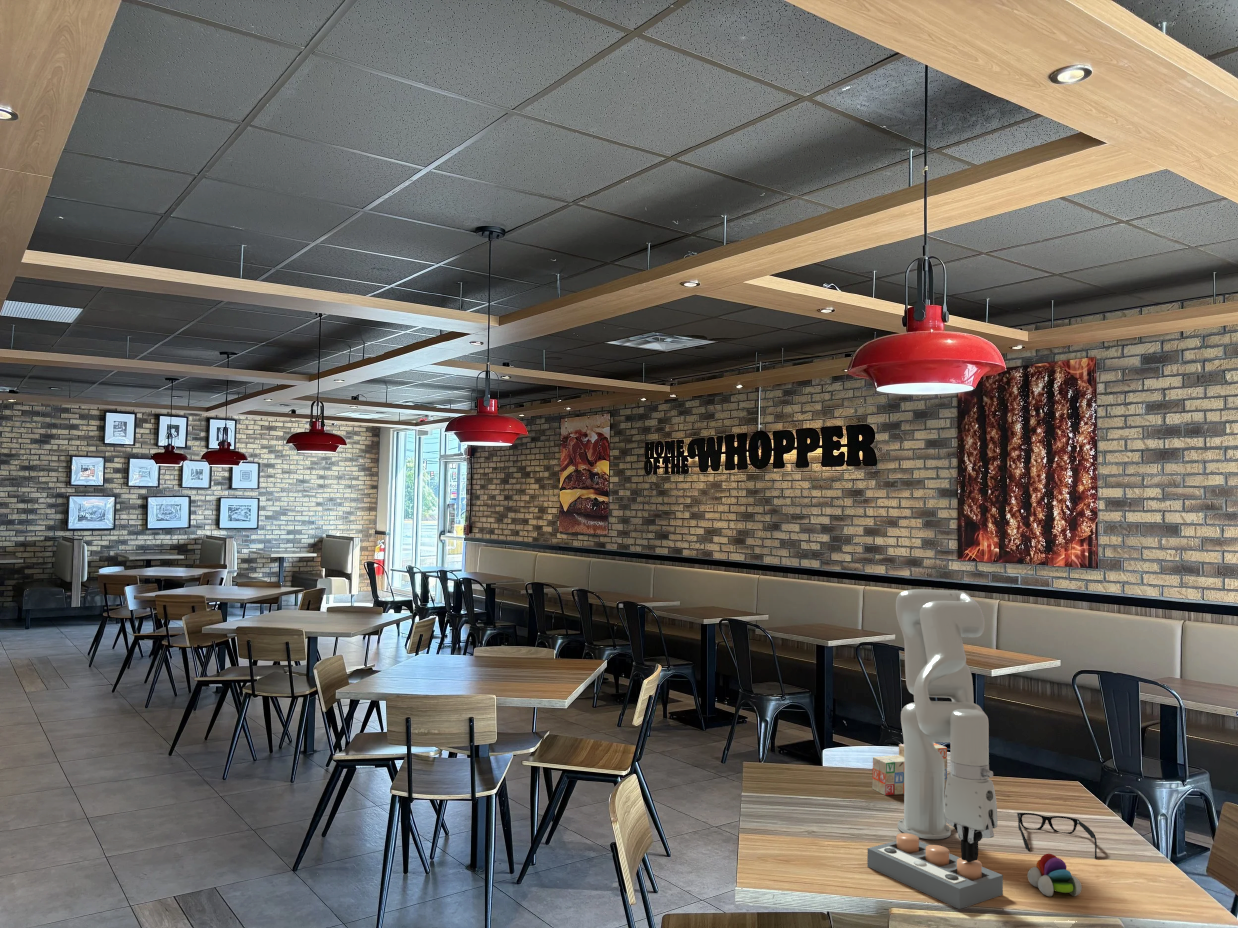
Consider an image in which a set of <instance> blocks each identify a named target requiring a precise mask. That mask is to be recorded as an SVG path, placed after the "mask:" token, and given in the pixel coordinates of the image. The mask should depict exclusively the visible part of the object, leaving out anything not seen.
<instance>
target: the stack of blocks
mask: <svg viewBox="0 0 1238 928" xmlns="http://www.w3.org/2000/svg"><path fill="white" fill-rule="evenodd" d="M934 747H935V748H936V749H937V750H938V751H939V753H940V754H941V755H942V757H943V760H944V791H945V789H946V782H947V777H948V748H947V747H946V746H945V745H941V744H938V743H937V742H936V743H934ZM871 771H872V772H871V773H872V774H871V775H872V790H874V791H875V792H877V793H880V794H882V795H884V796H889V795H890V796H892V795H904V743H903V744H902V743H901V744H898V754H897V755H896V754H894V755H882V756H880V755H879V756H872V770H871Z"/></svg>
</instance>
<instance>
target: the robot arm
mask: <svg viewBox="0 0 1238 928" xmlns="http://www.w3.org/2000/svg"><path fill="white" fill-rule="evenodd" d="M895 613H896V614H895V615H896V618H897V621H898V622H897V623H898V626H899V628H900V630H901V632H902V637H903V642H904V671H905V674H904V675H905V683H906V688H907V690H908V692H909V693H910V694H912V695H913V701H914V702H910V703H908V704H906V705H904V706H903V708H901V711H900V723H901V729H902V737H903V739H902V740H903V744H904V794H903V800H904V801H903V803H904V805H903V810H904V812H903V818H902V819H900V820H898V821H897V828H898V830H900V831H901V833H908V834H913V835H916V836H917V837H919V839H925V840H944V839H947V838H949V837H950V836H951V835H952V829H951V827H953V828H954V830H955V831H956V833H957V837H958V839H959V840H960V852H961V853H960V854H961V857H960V858H962V860H966V861H967V862H972V861H975V860H978V858H979V842H981V841H982V839H993V838H994V837H995V834H994V829H996V828H998V805H997V804H998V803H997V796H996V791H995V786H994V782H993V780H991V779H990V778H993V776H994V771H992V770H990V764H989V763H990V759H989V758H990V757H989V755H990V754H989V752H990V751H989V749H990V748H989V745H990V744H989V743H990V741H989V740H990V739H989V735H990V734H989V733H990V732H989V728H990V726H989V718H988V715H987V714H986V713H985V711H984V710H983V709H982V707H981V706H980V705H979V704H976V703H974V685H973V684H974V683H973V675H972V672H971V669H970V667H969V666H968V664H967V655H966V652H965V647H964V642H963V638H978V637H981V635H983V633H984V632H985V625H986V622H985V621H986V620H985V616H984V613H983V610H982V608H981V606H980V605H979V603H978V602H977V601H976V599H974V598H972V597H971V596H970V595H969V594H968V593H966V592H965V591H961V590H947V589H926V588H925V589H921V588H920V589H918V588H916V589H907V590H903V591H901V592H900V593H899V594H898V595H897V596H896V599H895ZM930 698H944V699H945V698H946V699H947V698H949V699H951V701H943V700H931V699H930ZM934 743H936V744H937V743H950V747H949V748H950V759H949V760H950V762H949V765H950V766H949V767H950V768H949V769H950V772H947V782H946V789H945V790H944V760H943V757H942V755H941V754H940V753H939V751H938V750H937V749H936V748H935V747H934ZM947 824H948V825H947ZM949 825H950V826H951V827H950V826H949Z"/></svg>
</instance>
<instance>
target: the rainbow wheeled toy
mask: <svg viewBox="0 0 1238 928" xmlns="http://www.w3.org/2000/svg"><path fill="white" fill-rule="evenodd" d="M1027 880H1028V882H1029V883H1030V885H1032V886H1033V887H1035V888H1038V889H1039V892H1041V893H1042V895H1044V896H1047V897H1052V896H1053V895H1054V891H1055V892H1058V893H1064V894H1066V893H1069V895H1070V896H1072V897H1076V896H1079V895H1080V894H1081V892H1082V883H1081V881H1080V879H1078V877H1077V876H1075V875H1072V873H1071V871H1070V870H1068V869H1067V864H1066V862H1065V861H1064V860H1063V859H1061V858H1059V857H1057V856H1056V855H1054V854H1052V853H1045V854H1043V855H1042V856H1041V857H1040V859H1037V862H1036V866H1033V867H1031V868H1030V869H1029V870H1028V871H1027Z"/></svg>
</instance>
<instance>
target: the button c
mask: <svg viewBox="0 0 1238 928" xmlns="http://www.w3.org/2000/svg"><path fill="white" fill-rule="evenodd" d="M982 867H983V863H982V862H981V861H980V860H978V859H977V860H975V861H972V862H967V861H966V860H962V858H961V857H959V858H958V859H957V875H960V876H962V877H964V878H967V879H969V880H971V881H974V880H977V879H980V878H982Z"/></svg>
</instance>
